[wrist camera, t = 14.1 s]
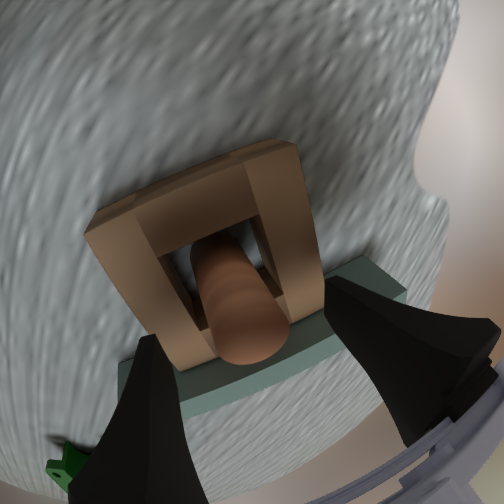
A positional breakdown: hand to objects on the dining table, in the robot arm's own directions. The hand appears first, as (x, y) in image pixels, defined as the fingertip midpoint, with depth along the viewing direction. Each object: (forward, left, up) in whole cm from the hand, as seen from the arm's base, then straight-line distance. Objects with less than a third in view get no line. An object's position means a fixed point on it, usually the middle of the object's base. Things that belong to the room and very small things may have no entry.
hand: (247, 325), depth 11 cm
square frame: (0, 0, -6) cm, 6 cm away
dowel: (0, 0, -6) cm, 6 cm away
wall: (+6, 0, -6) cm, 9 cm away
